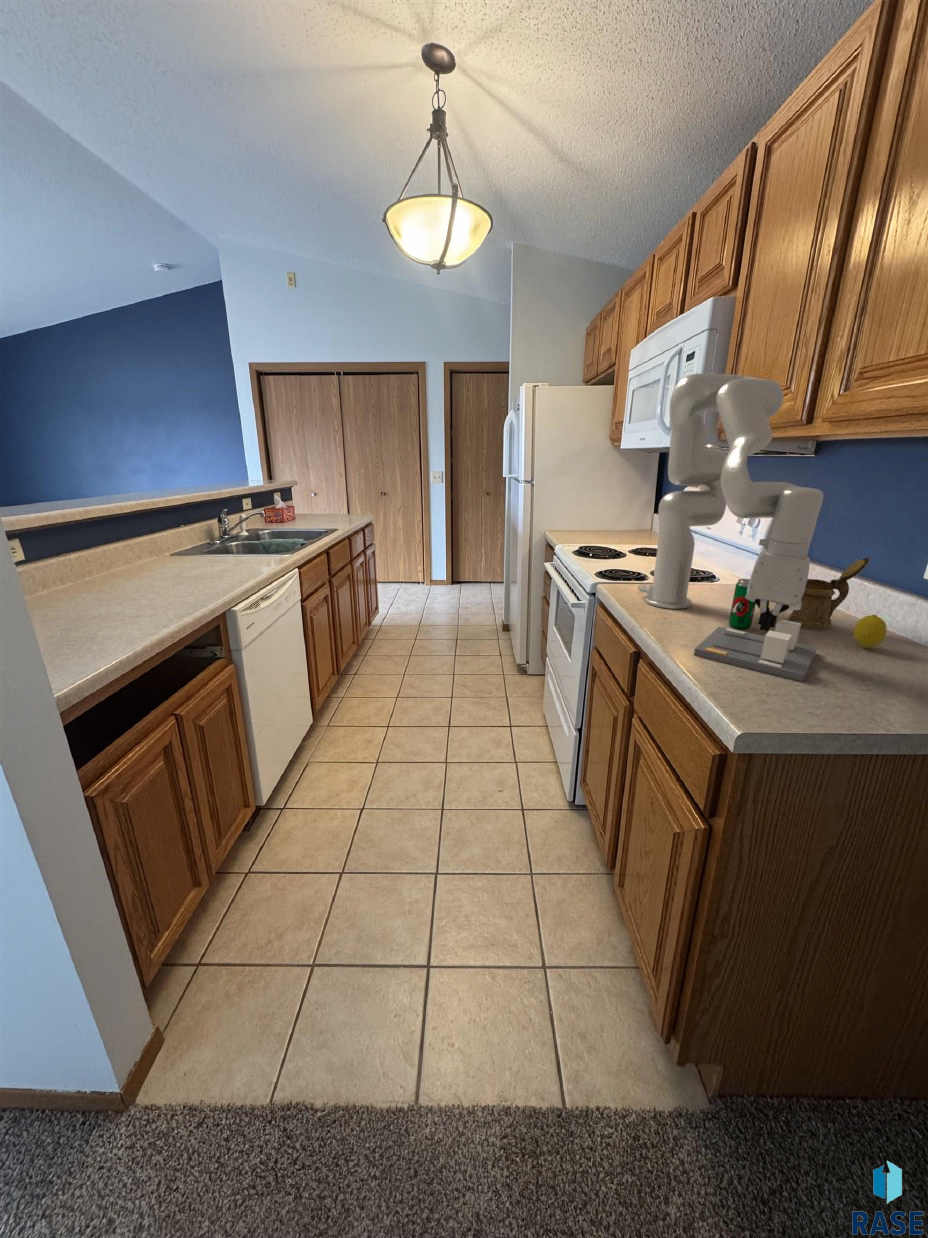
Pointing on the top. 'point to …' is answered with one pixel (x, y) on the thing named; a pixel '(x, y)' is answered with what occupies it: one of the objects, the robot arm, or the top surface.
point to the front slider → (776, 646)
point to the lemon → (870, 631)
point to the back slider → (789, 631)
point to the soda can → (741, 607)
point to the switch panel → (754, 653)
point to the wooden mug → (824, 598)
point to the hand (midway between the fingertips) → (765, 628)
